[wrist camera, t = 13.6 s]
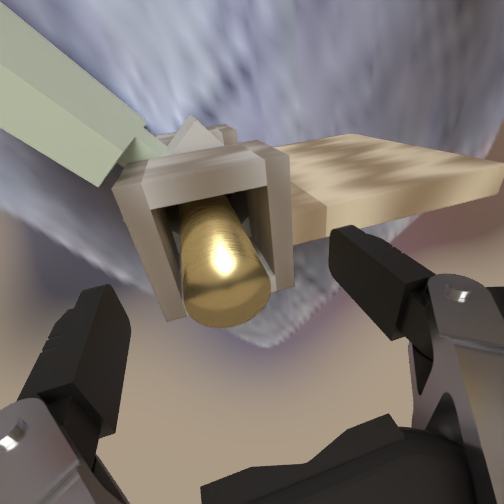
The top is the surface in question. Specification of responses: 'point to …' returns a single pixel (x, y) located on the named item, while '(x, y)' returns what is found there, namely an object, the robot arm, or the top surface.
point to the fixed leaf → (290, 195)
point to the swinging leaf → (82, 115)
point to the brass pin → (219, 265)
